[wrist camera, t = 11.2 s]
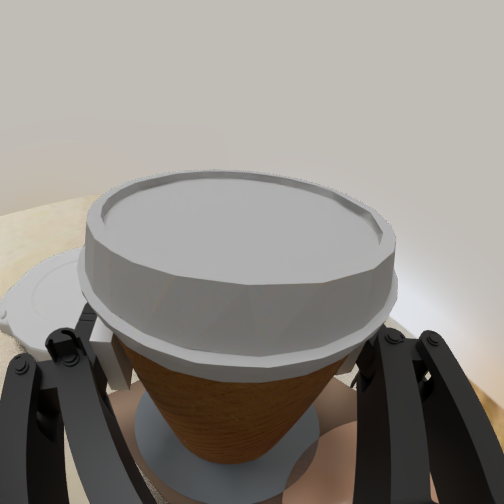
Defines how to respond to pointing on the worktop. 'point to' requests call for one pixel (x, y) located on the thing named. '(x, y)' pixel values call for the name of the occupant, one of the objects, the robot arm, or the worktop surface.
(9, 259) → the worktop surface
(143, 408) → the slate disc
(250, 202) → the disposable coffee cup
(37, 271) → the lid
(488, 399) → the worktop surface
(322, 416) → the walnut board
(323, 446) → the terracotta disc
